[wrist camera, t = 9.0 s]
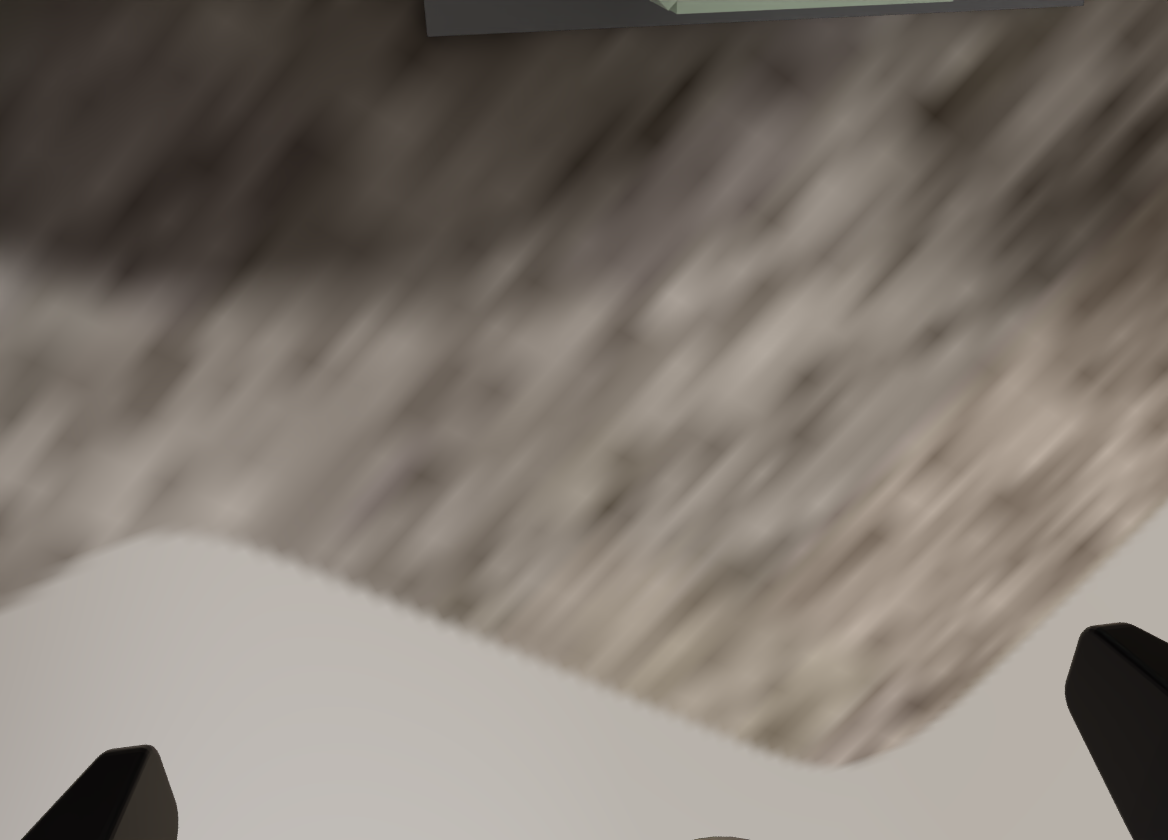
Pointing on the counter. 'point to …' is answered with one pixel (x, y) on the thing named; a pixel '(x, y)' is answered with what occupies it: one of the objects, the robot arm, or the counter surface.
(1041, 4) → the mat
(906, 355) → the counter surface
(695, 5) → the dish
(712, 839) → the cup
